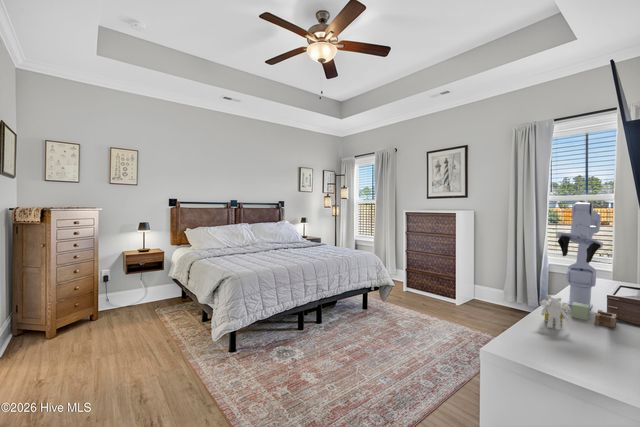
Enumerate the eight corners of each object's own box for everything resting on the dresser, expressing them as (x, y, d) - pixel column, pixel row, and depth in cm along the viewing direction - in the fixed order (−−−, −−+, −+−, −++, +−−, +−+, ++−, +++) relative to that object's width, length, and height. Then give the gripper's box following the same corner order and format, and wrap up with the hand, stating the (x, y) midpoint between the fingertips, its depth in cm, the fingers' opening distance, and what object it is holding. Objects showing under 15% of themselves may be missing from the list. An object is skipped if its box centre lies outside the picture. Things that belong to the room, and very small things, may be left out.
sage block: (573, 313, 128) (573, 301, 127) (589, 317, 124) (589, 305, 124) (571, 316, 124) (571, 304, 124) (587, 320, 121) (588, 307, 120)
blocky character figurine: (537, 325, 114) (539, 292, 114) (540, 322, 117) (542, 291, 116) (568, 333, 107) (570, 299, 107) (570, 330, 110) (572, 296, 110)
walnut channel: (562, 310, 131) (562, 301, 131) (616, 322, 119) (616, 312, 119) (557, 316, 124) (558, 306, 124) (613, 329, 112) (614, 318, 112)
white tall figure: (556, 319, 120) (557, 294, 120) (565, 325, 115) (567, 299, 115) (541, 318, 121) (542, 294, 121) (550, 324, 116) (551, 298, 115)
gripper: (563, 218, 124) (559, 248, 119) (608, 229, 118) (605, 260, 113) (555, 226, 130) (551, 255, 125) (598, 237, 124) (595, 267, 119)
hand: (576, 258), depth 119 cm, fingers open, 7 cm apart
